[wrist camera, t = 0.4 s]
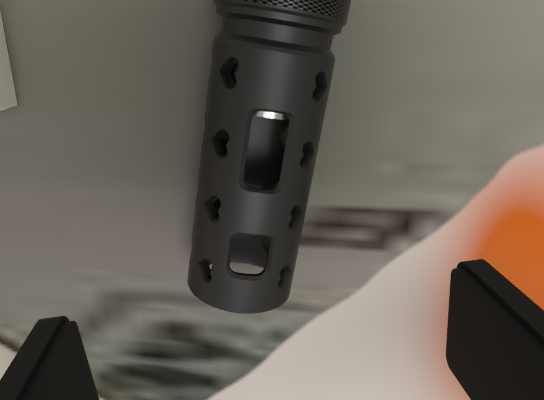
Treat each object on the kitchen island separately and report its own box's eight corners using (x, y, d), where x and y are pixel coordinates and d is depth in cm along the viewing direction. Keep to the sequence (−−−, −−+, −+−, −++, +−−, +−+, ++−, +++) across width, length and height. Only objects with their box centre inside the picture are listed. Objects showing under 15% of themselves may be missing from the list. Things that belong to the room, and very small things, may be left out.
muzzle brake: (188, 251, 44) (179, 312, 34) (222, -74, 35) (223, -116, 25) (283, 259, 45) (301, 320, 36) (340, -50, 36) (384, -80, 27)
